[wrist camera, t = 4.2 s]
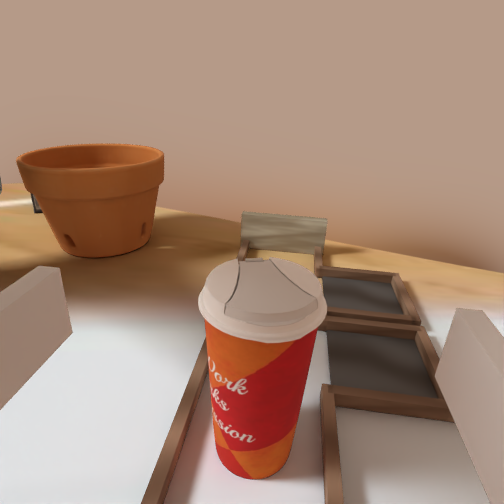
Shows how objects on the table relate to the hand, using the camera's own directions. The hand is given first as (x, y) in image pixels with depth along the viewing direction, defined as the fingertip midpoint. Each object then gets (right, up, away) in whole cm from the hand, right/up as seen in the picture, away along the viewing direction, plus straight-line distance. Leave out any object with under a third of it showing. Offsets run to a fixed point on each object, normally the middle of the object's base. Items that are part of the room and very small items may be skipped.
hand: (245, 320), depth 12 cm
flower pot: (-25, +4, +51) cm, 57 cm away
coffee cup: (0, -13, +17) cm, 22 cm away
